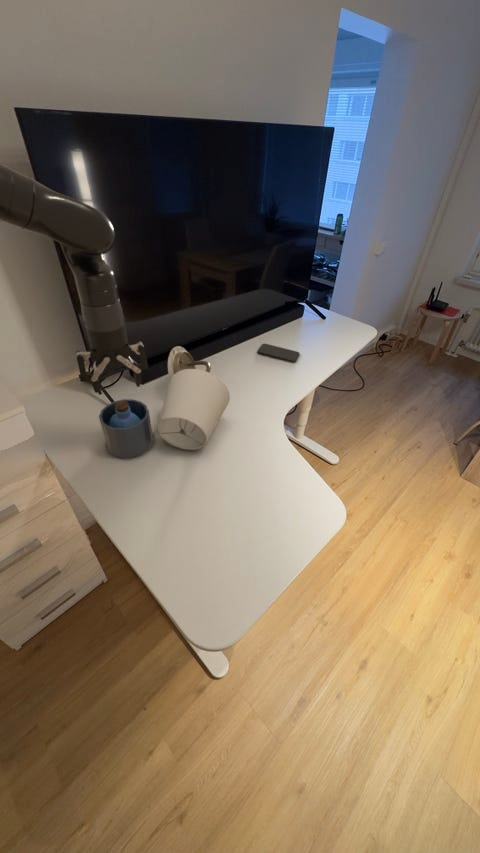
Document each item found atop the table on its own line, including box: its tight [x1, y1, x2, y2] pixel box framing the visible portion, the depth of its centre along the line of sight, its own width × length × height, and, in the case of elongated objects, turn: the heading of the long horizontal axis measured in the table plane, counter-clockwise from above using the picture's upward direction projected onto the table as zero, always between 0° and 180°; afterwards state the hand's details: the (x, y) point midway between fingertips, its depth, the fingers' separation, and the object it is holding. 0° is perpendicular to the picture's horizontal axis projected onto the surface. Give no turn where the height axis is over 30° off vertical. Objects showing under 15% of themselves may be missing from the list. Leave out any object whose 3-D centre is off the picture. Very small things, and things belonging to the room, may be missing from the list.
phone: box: [257, 343, 300, 363], centre depth 130 cm, size 7×1×15 cm
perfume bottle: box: [108, 400, 142, 428], centre depth 86 cm, size 6×6×12 cm
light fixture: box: [157, 345, 231, 451], centre depth 96 cm, size 17×19×34 cm
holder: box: [98, 398, 154, 460], centre depth 87 cm, size 12×12×10 cm
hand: (119, 388), depth 79 cm, fingers open, 8 cm apart
